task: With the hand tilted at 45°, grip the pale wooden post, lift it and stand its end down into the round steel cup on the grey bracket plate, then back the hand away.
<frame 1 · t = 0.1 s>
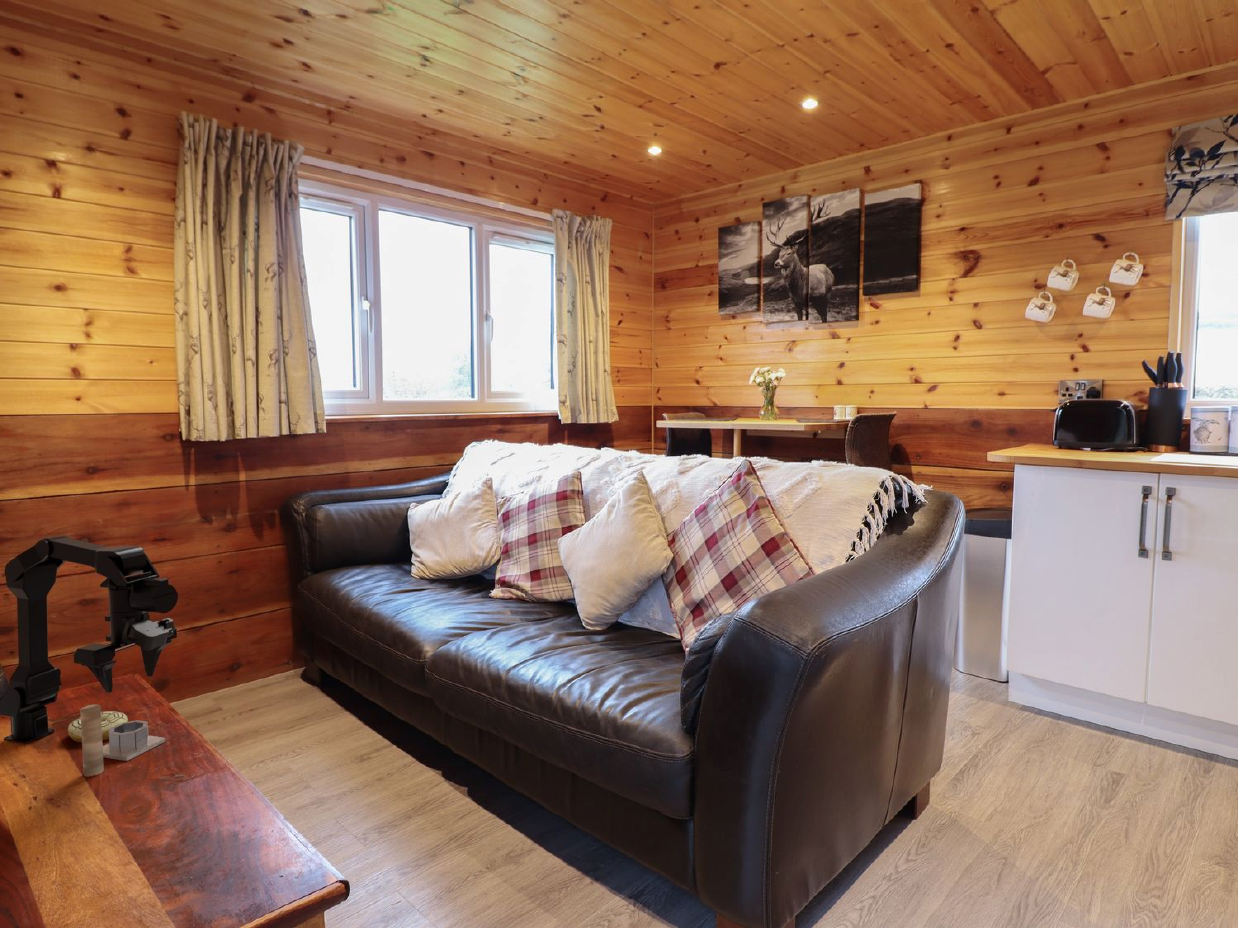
hand: (130, 684, 149), 15 cm above the table, tool pointing down, fingers open, 9 cm apart
cup bracket: (129, 748, 152), on the table
wooden post: (93, 772, 142), on the table
decorated donut: (98, 735, 159), on the table
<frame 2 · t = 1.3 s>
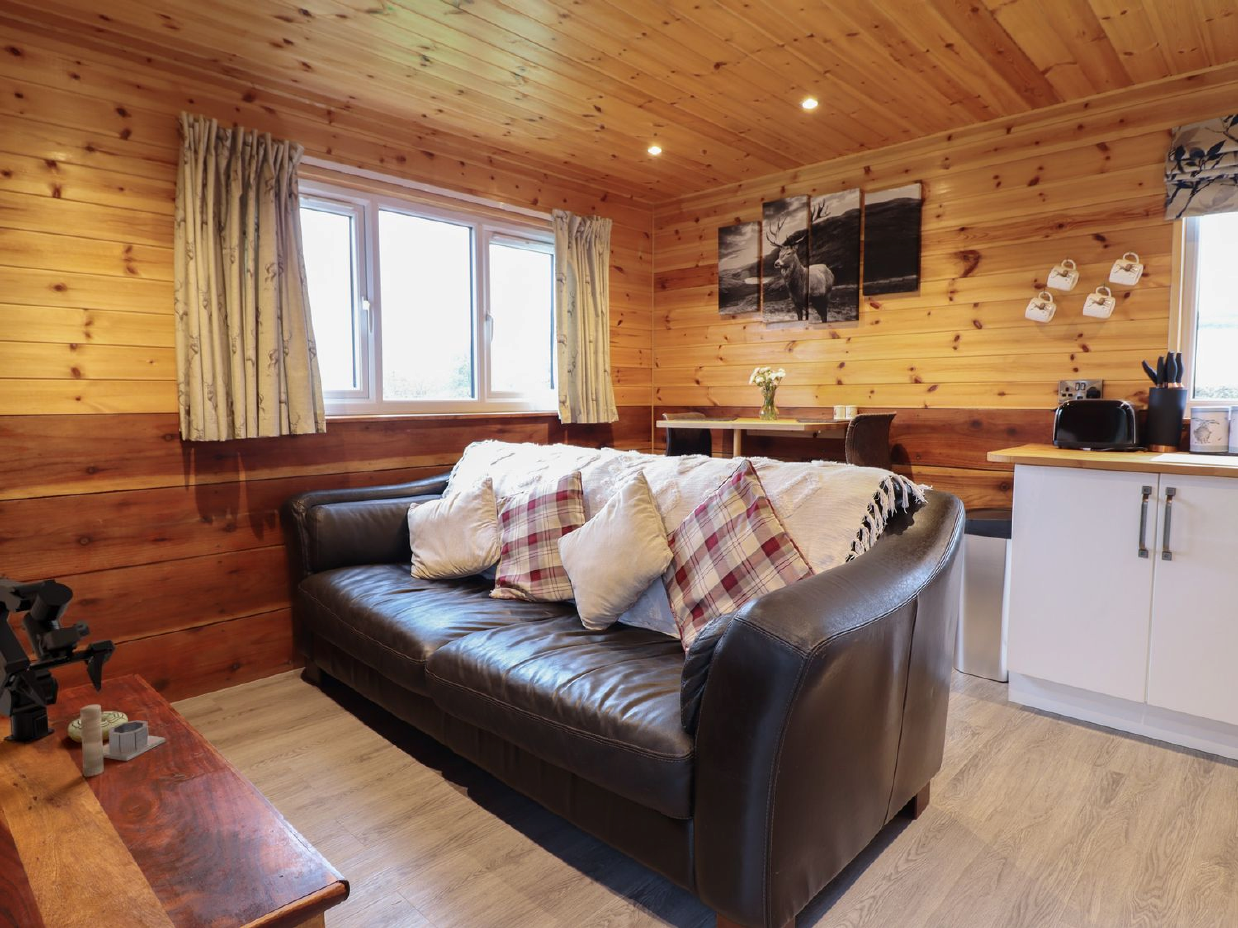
hand: (73, 697, 145), 13 cm above the table, tool tilted 45°, fingers open, 9 cm apart
nothing on the table moved.
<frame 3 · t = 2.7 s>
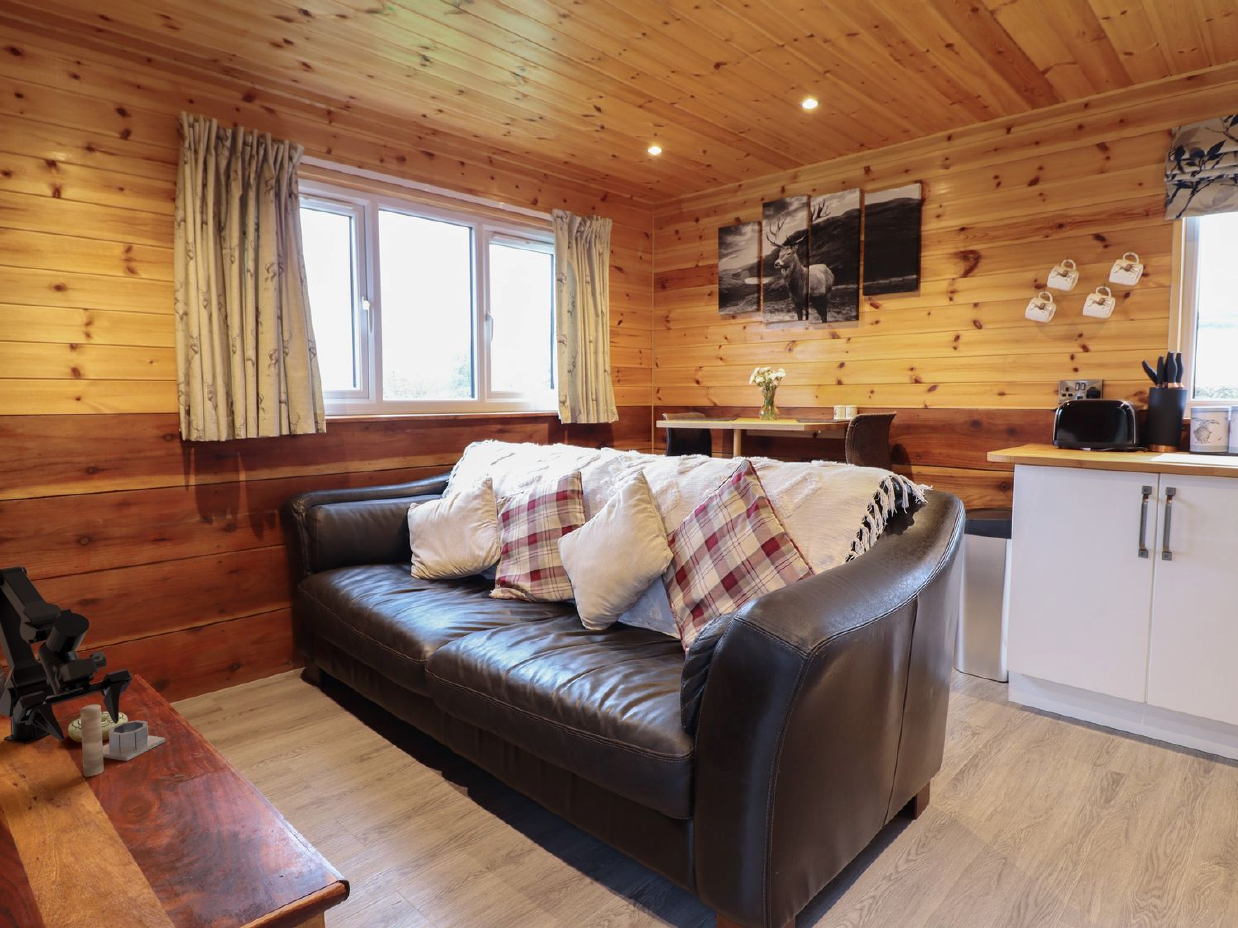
hand: (90, 730, 142), 8 cm above the table, tool tilted 45°, fingers open, 9 cm apart
nothing on the table moved.
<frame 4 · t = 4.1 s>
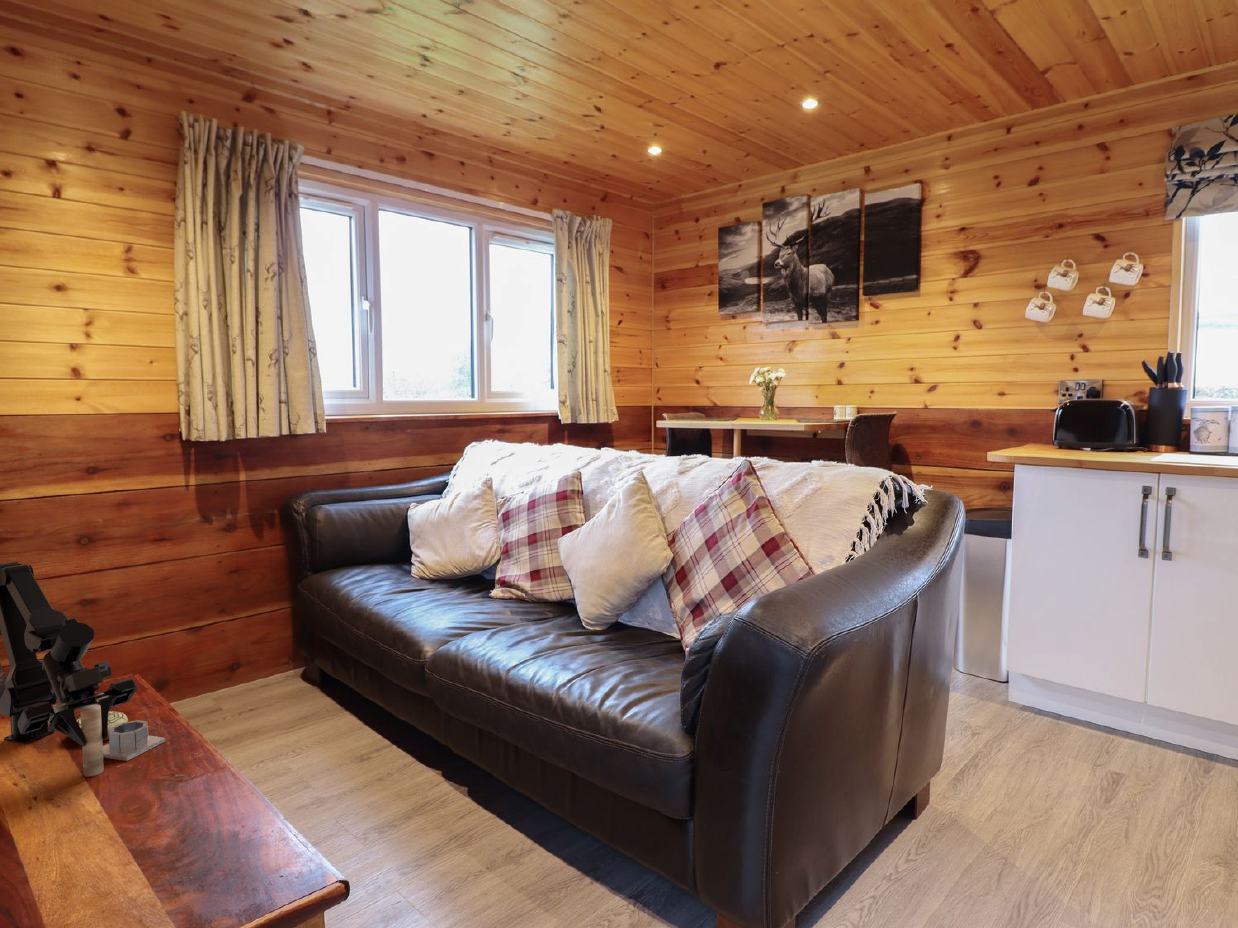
hand: (95, 741, 141), 7 cm above the table, tool tilted 45°, fingers closed on wooden post, 3 cm apart
wooden post: (93, 772, 142), on the table, touching gripper
everything else where it was.
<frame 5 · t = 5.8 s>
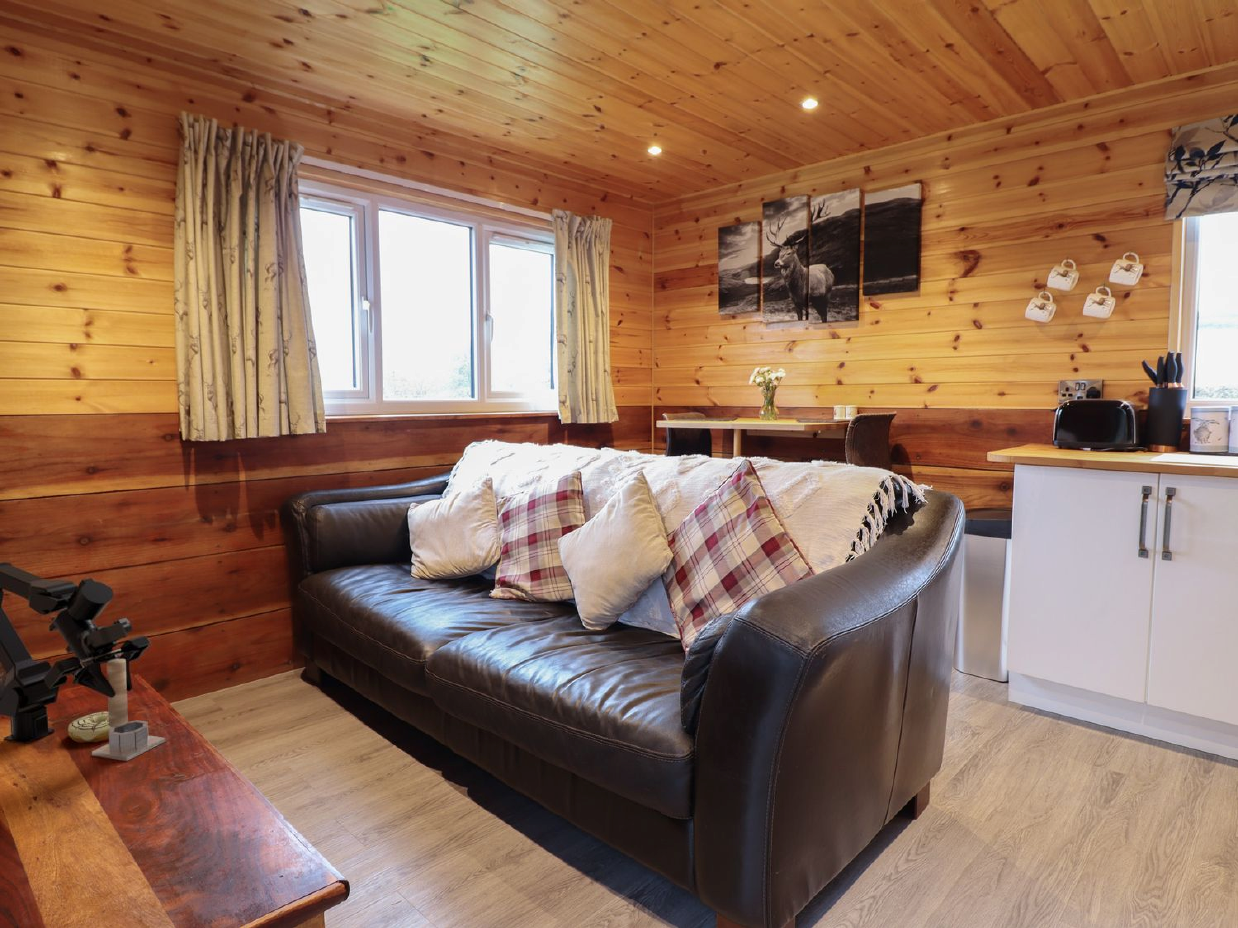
hand: (122, 692, 148), 13 cm above the table, tool tilted 45°, fingers closed on wooden post, 3 cm apart
wooden post: (118, 723, 149), point 7 cm above the table, touching gripper
everything else where it was.
when the fingers open (9 cm above the table, at t = 7.4 s): wooden post drops 1 cm, resting on cup bracket.
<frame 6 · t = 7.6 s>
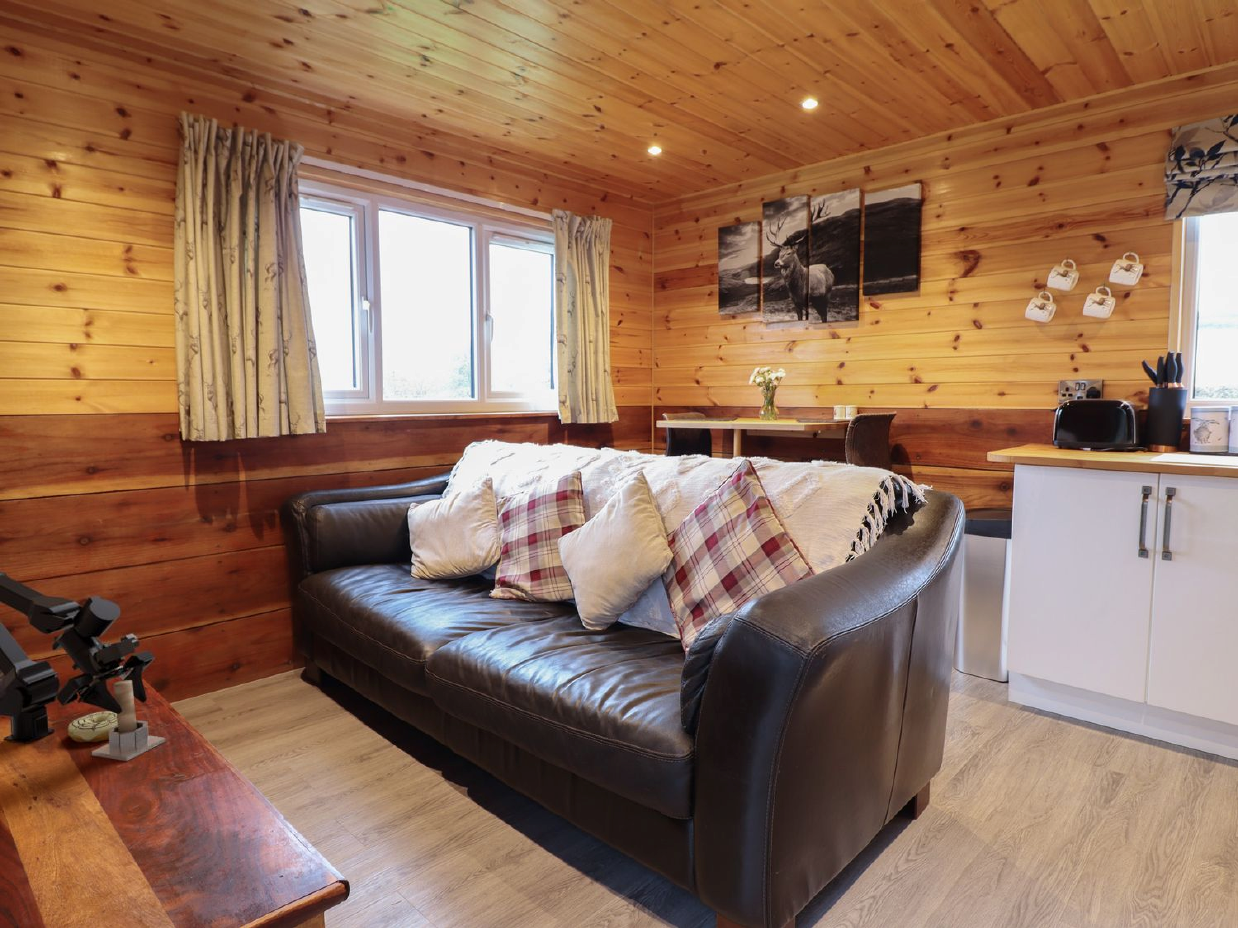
hand: (133, 706, 151), 9 cm above the table, tool tilted 45°, fingers open, 6 cm apart
wooden post: (129, 743, 152), point 1 cm above the table, tilted 5°, touching cup bracket
everything else where it was.
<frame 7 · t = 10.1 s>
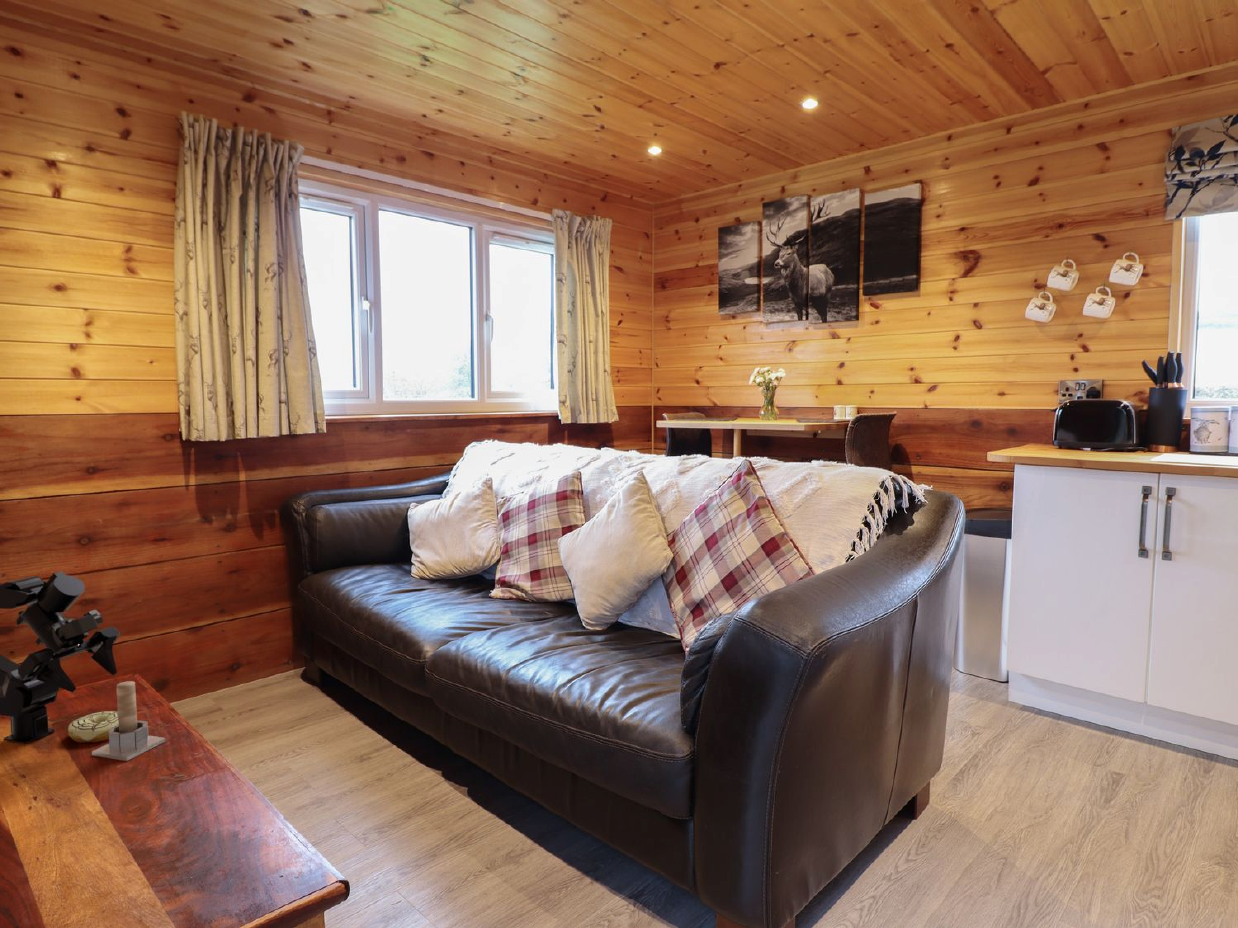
hand: (95, 681, 153), 14 cm above the table, tool tilted 45°, fingers open, 9 cm apart
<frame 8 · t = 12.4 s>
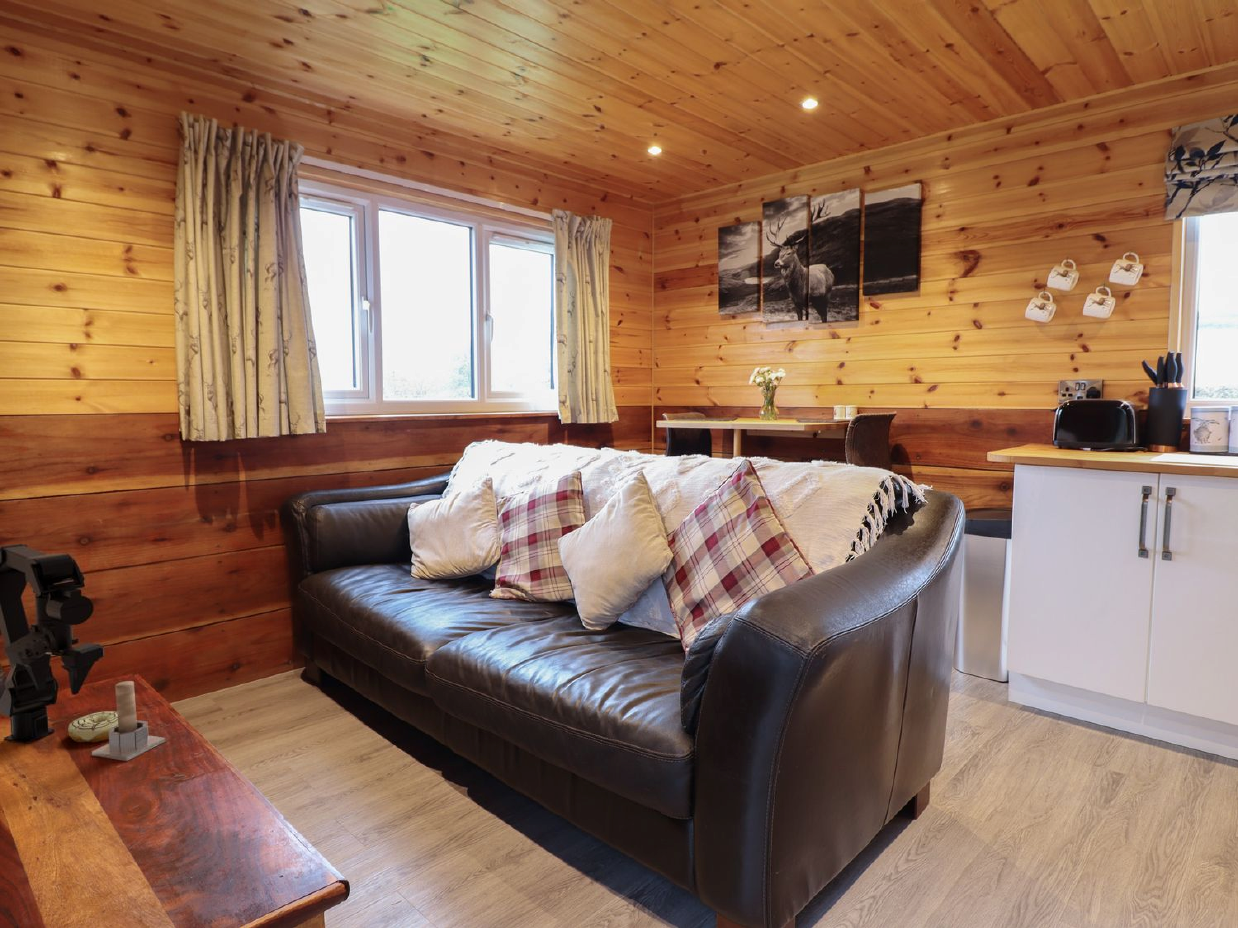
hand: (57, 691, 149), 13 cm above the table, tool pointing down, fingers open, 9 cm apart
nothing on the table moved.
at the end: wooden post 0.0 cm off-centre on the cup bracket, point 0.8 cm above the cup bracket's base; wooden post tilted 2°; the gripper is holding nothing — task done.
